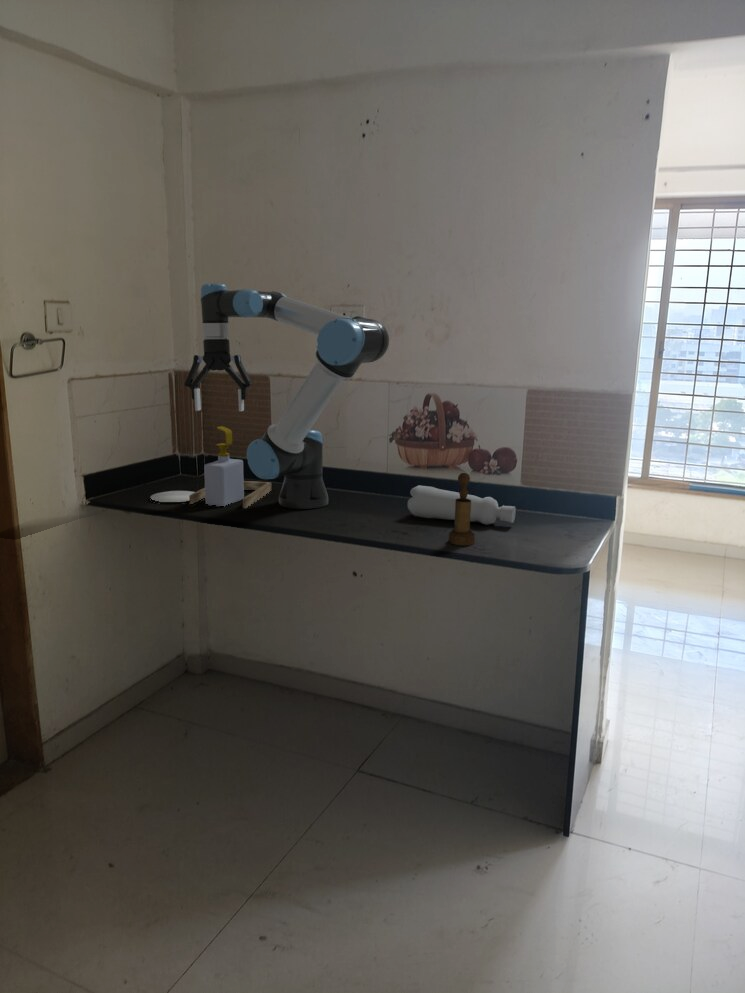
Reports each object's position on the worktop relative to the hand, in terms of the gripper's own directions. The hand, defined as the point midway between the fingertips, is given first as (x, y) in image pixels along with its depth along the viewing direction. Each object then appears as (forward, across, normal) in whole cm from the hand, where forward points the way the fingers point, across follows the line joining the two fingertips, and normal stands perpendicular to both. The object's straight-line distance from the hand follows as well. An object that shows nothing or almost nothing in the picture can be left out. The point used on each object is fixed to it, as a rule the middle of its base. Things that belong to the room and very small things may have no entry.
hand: (219, 410), depth 229 cm
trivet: (+28, +17, -2) cm, 33 cm away
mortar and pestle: (+30, -74, +29) cm, 85 cm away
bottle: (+30, -73, +8) cm, 79 cm away
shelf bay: (+28, 0, -7) cm, 29 cm away
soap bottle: (+29, 0, -1) cm, 29 cm away
